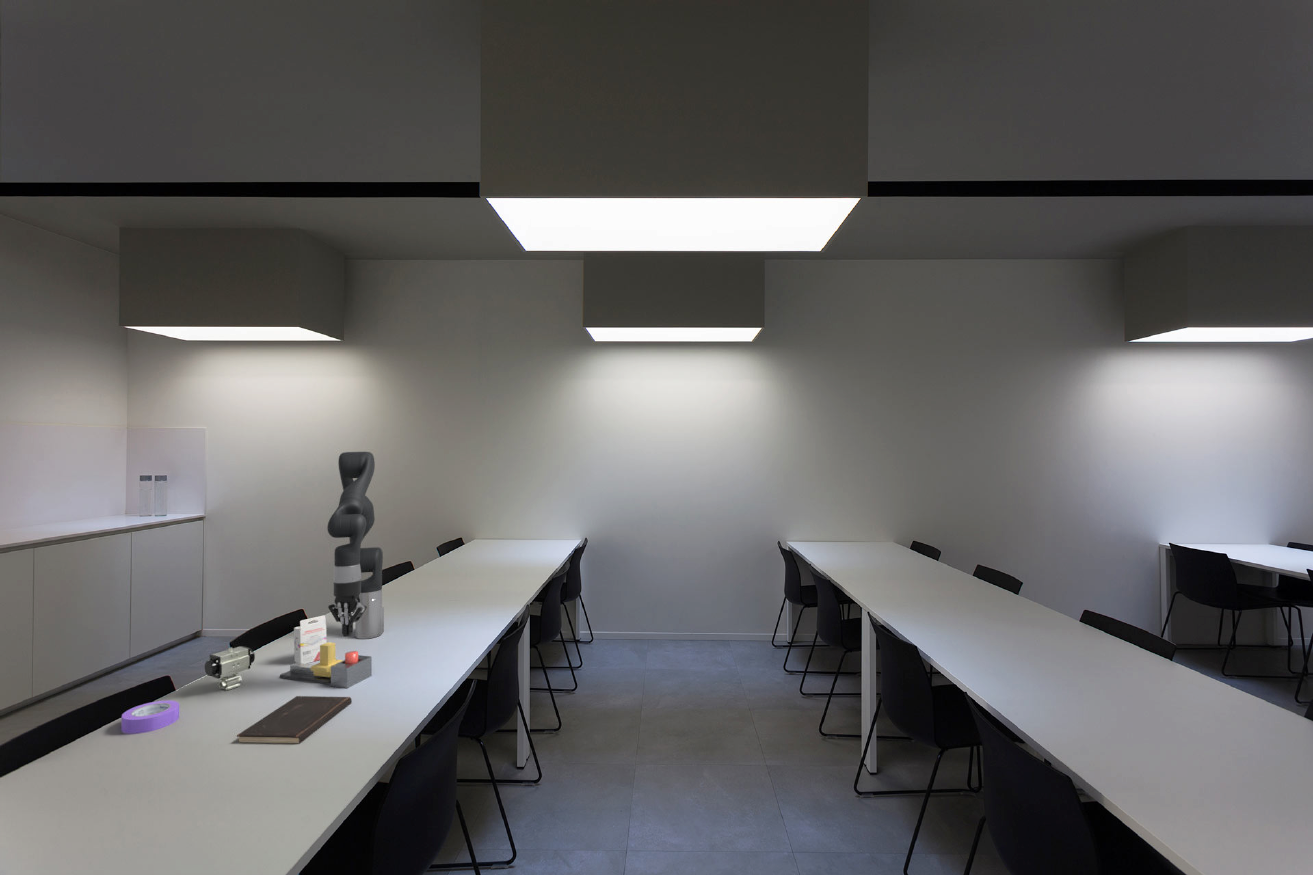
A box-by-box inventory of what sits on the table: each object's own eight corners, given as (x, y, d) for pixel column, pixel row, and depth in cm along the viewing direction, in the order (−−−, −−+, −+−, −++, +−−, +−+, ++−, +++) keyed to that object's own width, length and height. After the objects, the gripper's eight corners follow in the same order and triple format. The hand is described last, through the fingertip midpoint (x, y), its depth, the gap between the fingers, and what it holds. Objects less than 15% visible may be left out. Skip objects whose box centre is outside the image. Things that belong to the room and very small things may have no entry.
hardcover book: (236, 744, 149) (236, 735, 149) (296, 704, 172) (296, 695, 172) (299, 745, 148) (299, 736, 148) (351, 704, 171) (351, 696, 171)
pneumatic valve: (204, 693, 178) (204, 652, 178) (246, 679, 188) (246, 640, 188) (214, 697, 175) (214, 655, 175) (256, 682, 186) (256, 643, 186)
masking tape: (186, 710, 167) (186, 696, 167) (169, 729, 156) (169, 714, 156) (133, 718, 163) (133, 703, 163) (112, 737, 152) (112, 722, 152)
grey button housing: (355, 673, 192) (355, 654, 192) (371, 675, 191) (371, 656, 191) (330, 686, 183) (330, 666, 183) (347, 688, 181) (347, 668, 181)
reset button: (351, 666, 189) (351, 650, 189) (360, 667, 188) (360, 651, 188) (342, 670, 185) (342, 654, 186) (352, 672, 184) (352, 655, 185)
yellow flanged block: (328, 668, 193) (328, 639, 193) (344, 670, 192) (344, 641, 192) (310, 676, 187) (310, 646, 187) (326, 678, 185) (326, 648, 185)
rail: (301, 668, 197) (301, 659, 197) (349, 674, 192) (349, 664, 192) (280, 677, 189) (279, 668, 189) (329, 684, 184) (329, 674, 184)
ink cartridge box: (320, 655, 210) (320, 612, 210) (327, 658, 207) (326, 614, 207) (293, 662, 203) (293, 618, 203) (300, 665, 200) (299, 620, 200)
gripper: (373, 577, 188) (374, 633, 188) (339, 575, 192) (339, 630, 192) (355, 583, 181) (355, 641, 181) (320, 580, 185) (320, 637, 185)
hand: (347, 635), depth 186 cm, fingers closed
